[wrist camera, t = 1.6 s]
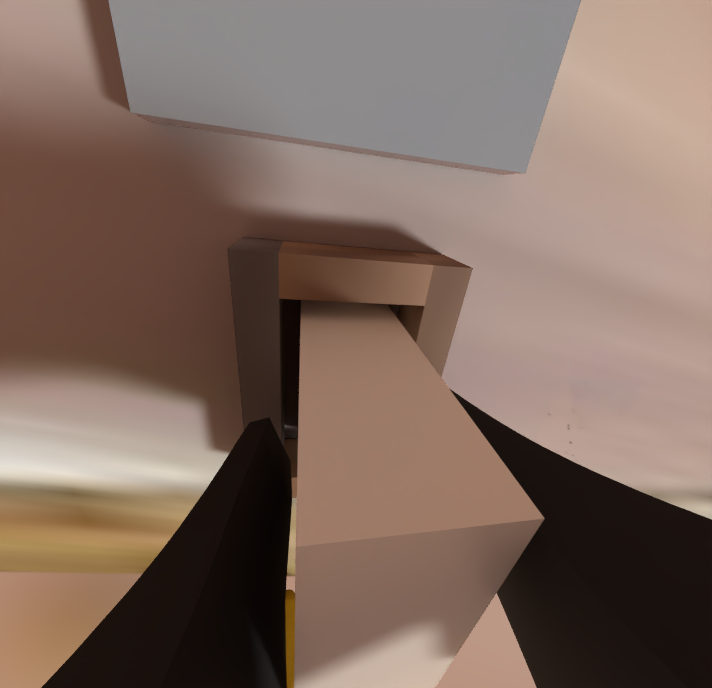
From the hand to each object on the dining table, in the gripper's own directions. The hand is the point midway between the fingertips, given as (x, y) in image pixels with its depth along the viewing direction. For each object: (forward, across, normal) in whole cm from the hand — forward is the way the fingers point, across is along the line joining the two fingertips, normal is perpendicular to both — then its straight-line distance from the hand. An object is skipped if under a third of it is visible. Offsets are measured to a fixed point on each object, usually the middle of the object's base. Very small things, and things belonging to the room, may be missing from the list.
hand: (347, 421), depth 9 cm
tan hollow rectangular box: (+3, 0, 0) cm, 3 cm away
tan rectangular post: (+3, 0, 0) cm, 3 cm away
